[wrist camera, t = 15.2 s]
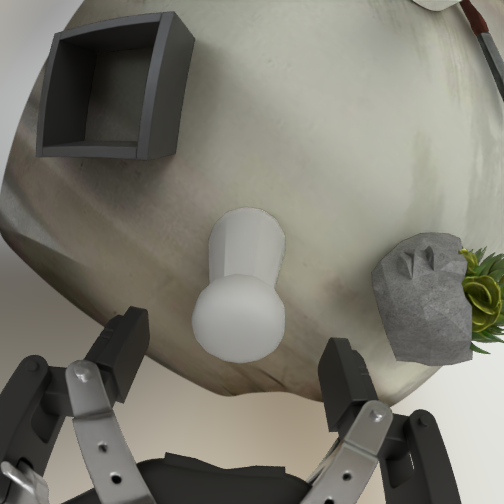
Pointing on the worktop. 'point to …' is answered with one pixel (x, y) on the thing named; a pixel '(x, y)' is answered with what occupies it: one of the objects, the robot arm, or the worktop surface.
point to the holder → (80, 79)
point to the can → (436, 4)
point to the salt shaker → (242, 288)
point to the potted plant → (439, 299)
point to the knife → (485, 43)
